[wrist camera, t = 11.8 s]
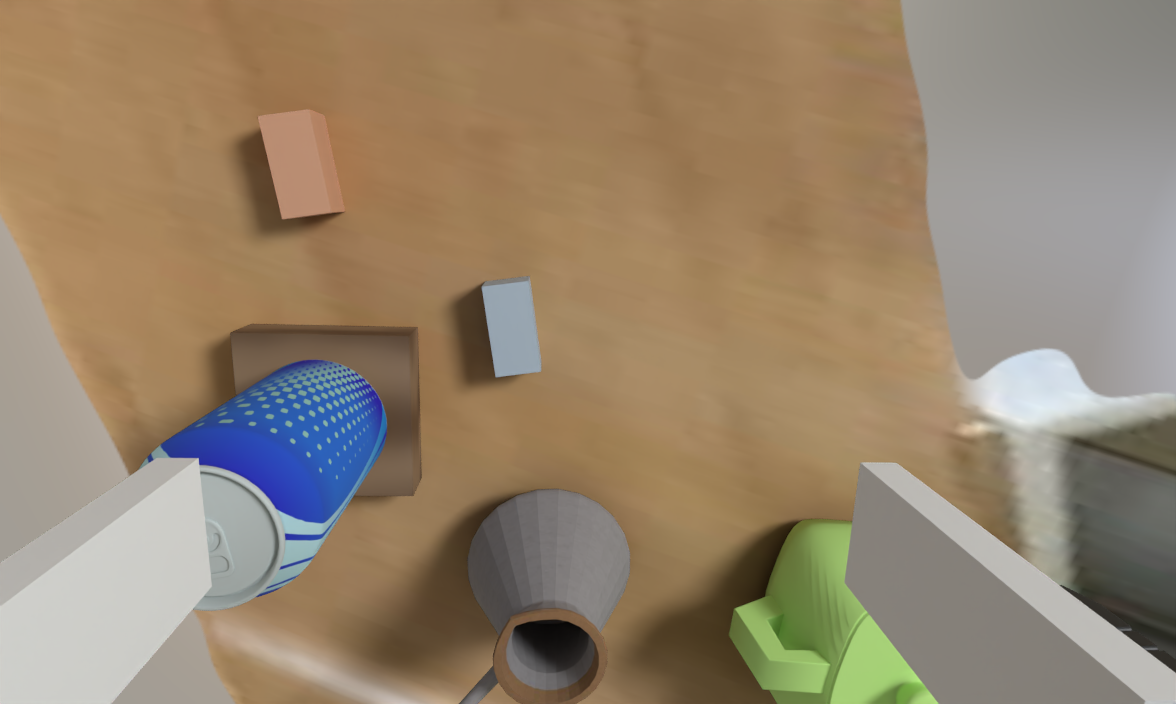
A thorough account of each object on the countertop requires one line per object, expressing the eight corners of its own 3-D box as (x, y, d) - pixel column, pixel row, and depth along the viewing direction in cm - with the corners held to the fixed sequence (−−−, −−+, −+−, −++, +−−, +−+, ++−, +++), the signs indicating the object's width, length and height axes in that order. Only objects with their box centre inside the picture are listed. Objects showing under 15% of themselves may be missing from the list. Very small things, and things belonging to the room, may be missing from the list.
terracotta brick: (277, 121, 42) (257, 116, 39) (325, 115, 42) (308, 109, 39) (299, 217, 43) (282, 219, 40) (345, 211, 43) (331, 212, 40)
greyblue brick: (485, 281, 45) (481, 286, 42) (529, 275, 45) (528, 280, 42) (498, 366, 46) (495, 377, 43) (541, 360, 46) (541, 371, 43)
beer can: (237, 440, 43) (62, 577, 27) (293, 330, 42) (143, 409, 26) (355, 498, 44) (253, 660, 29) (414, 394, 43) (340, 504, 27)
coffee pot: (561, 442, 48) (568, 550, 33) (656, 553, 50) (701, 699, 35) (338, 613, 50) (252, 785, 35) (440, 711, 52) (399, 911, 37)
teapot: (915, 724, 55) (1026, 880, 43) (683, 701, 53) (727, 858, 41) (979, 524, 51) (1122, 630, 39) (731, 491, 49) (796, 593, 37)
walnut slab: (250, 323, 44) (230, 332, 41) (417, 327, 45) (409, 336, 42) (263, 476, 47) (244, 495, 44) (421, 477, 47) (413, 496, 45)
